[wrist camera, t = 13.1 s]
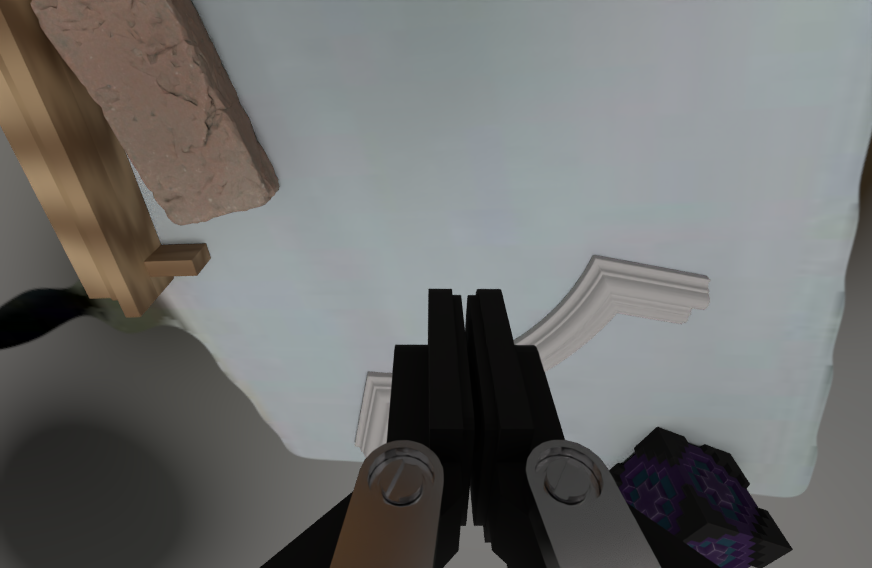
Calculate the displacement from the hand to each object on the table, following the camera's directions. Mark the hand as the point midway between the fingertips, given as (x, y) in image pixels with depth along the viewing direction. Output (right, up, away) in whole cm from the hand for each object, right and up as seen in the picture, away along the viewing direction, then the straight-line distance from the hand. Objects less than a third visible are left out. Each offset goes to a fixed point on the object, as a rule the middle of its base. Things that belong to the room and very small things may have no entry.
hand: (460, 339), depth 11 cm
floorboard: (-26, +14, +25) cm, 39 cm away
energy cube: (+29, -22, +49) cm, 61 cm away
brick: (-19, +15, +24) cm, 35 cm away
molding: (+7, -7, +40) cm, 41 cm away
